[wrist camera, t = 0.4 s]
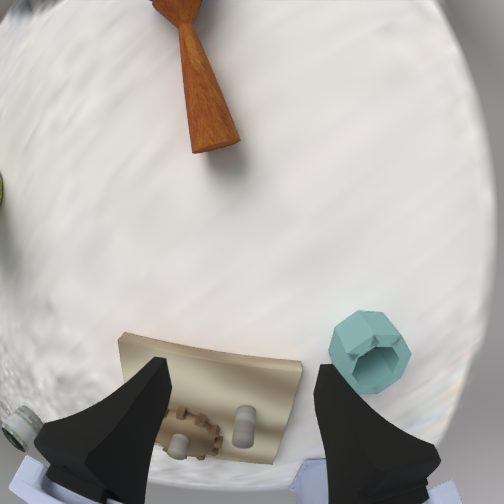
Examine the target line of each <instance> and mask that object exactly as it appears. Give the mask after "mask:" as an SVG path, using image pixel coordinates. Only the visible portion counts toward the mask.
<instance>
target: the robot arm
mask: <svg viewBox="0 0 504 504" xmlns="http://www.w3.org/2000/svg"><path fill="white" fill-rule="evenodd" d="M171 392H172V383H171V378H170V374H169V369H168V364H167V359H166V358H162V357H155V356H154V357H153V358H152V359H151V360H150V361H149V362H148V363H147V364H146V365H145V366H144V367H143V368H141V369H140V370H139V371H138V372H137V373H136V374H135V375H134V376H133V377H132V378H131V379H129V380H128V381H127V382H126V383H125V384H124V385H122V386H121V387H120V388H119V389H117V390H116V391H115V392H113V393H112V394H111V395H109V396H108V397H106V398H105V399H103V400H102V401H100V402H98V403H97V404H95V405H93V406H91V407H89V408H87V409H85V410H83V411H81V412H79V413H76V414H74V415H71V416H68V417H66V418H63V419H59V420H56V421H52V422H48V423H45V424H44V425H43V427H42V428H41V430H40V431H39V433H38V434H37V436H36V438H35V439H34V445H35V447H36V448H37V450H38V451H39V452H40V453H41V454H42V455H43V456H44V457H45V458H46V460H47V461H48V462H49V463H50V464H51V465H50V467H49V468H48V467H46V466H45V465H43V464H42V463H40V462H38V461H36V460H35V459H33V458H32V457H30V456H28V455H26V457H25V459H24V460H23V462H22V464H21V466H20V467H19V469H18V471H17V473H16V475H15V476H14V478H13V480H12V482H11V484H10V486H9V489H10V490H11V491H12V492H14V493H15V494H16V495H18V496H19V497H20V498H22V499H23V500H24V501H26V502H27V503H28V504H144V503H145V492H146V491H145V490H146V484H147V477H148V471H149V466H150V461H151V456H152V451H153V447H154V443H155V440H156V437H157V435H158V432H159V429H160V426H161V424H162V421H163V419H164V416H165V413H166V410H167V408H168V405H169V401H170V396H171ZM313 394H314V404H315V412H316V416H317V420H318V425H319V429H320V433H321V437H322V441H323V445H324V450H325V456H326V459H319V460H305V461H304V462H303V464H302V466H301V468H300V470H299V472H298V474H297V476H296V477H295V479H294V481H293V483H292V485H291V487H290V488H289V491H290V492H296V504H463V503H462V500H461V498H460V495H459V493H458V490H457V488H456V486H455V483H454V481H453V480H452V479H450V480H448V481H446V482H444V483H442V484H439V485H437V486H435V487H433V488H431V489H429V490H428V491H427V489H426V486H427V485H428V481H427V477H428V476H429V475H430V474H431V473H432V472H433V471H434V470H435V469H436V468H437V467H438V466H439V464H440V462H441V459H440V457H439V454H438V452H437V450H436V448H435V446H434V445H433V444H430V443H428V442H425V441H423V440H420V439H418V438H416V437H414V436H412V435H410V434H408V433H406V432H404V431H402V430H401V429H399V428H397V427H396V426H394V425H393V424H391V423H390V422H388V421H387V420H386V419H384V418H383V417H382V416H380V415H379V414H378V413H377V412H375V411H374V410H373V409H372V408H371V407H370V406H369V405H368V404H367V403H366V402H365V401H364V400H363V399H362V398H361V397H360V396H359V395H358V394H357V393H356V391H355V390H354V389H353V388H352V387H351V386H350V385H349V383H348V382H347V381H346V380H345V378H344V377H343V376H342V375H341V373H340V372H339V371H338V370H337V368H336V367H335V366H334V365H333V364H321V365H320V368H319V373H318V377H317V381H316V385H315V389H314V393H313Z"/></svg>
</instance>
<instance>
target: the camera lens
mask: <svg viewBox="0 0 504 504" xmlns="http://www.w3.org/2000/svg"><path fill="white" fill-rule="evenodd" d="M42 427H43V424H42V422H41V420H40V419H39V418H38V417H37V415H36V414H35V413H34V412H33V411H31V410H30V409H29V408H28V407H26V406H22V407H19V408H18V409H17V410H15V411H14V413H12V415H11V416H10V417H9V418H8V419H7V420H6V421H5V422H4V423H3V424H2V431H3V432H4V435H5V436H6V437H7V439H8V440H9V441H10V442H11V443H12V445H14V446H15V447H16V448H17V449H19V450H21V451H23V452H27V451H28V450H29V449H30V447H31V446H32V445H33V444H34V439H35V438H36V436H37V434H38V433H39V431H40V430H41V428H42Z"/></svg>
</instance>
